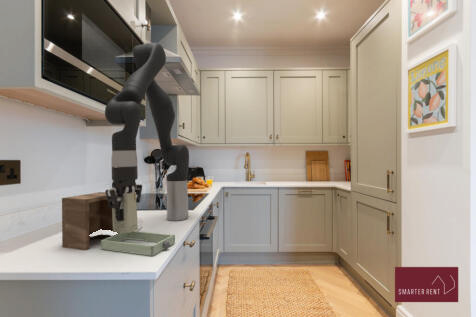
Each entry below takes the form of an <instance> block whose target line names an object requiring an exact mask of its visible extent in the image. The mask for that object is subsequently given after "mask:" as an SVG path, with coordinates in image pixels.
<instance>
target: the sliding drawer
mask: <svg viewBox="0 0 476 317" xmlns="http://www.w3.org/2000/svg"><path fill="white" fill-rule="evenodd" d="M127 239H129V240H130V239H131V240H140V241H148V242H157V243H154V244H152V245H150V244H142V243H135V242H134V243H133V242H125V241H124V240H127ZM175 243H176V235H175V234H171V233H169V234H167V233H159V232H147V231H146V232H145V231H137V230H135V231H133V232H130V233H119V234H116V235H114V236H107V237H105V238H104V239H101V240H100V249H101V250H107V251H115V252H125V253H132V254H138V255H139V254H140V255H147V256H154V255H156V254H158V253H160V252H162V251H163V250H165V249H166V248H167V249H168V248H169V247H170V246H172V245H173V244H175Z"/></svg>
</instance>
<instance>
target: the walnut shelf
mask: <svg viewBox="0 0 476 317" xmlns="http://www.w3.org/2000/svg"><path fill="white" fill-rule="evenodd" d="M61 226H62V227H61V233H62V236H61V239H62V240H61V241H62V242H61V247H62V248H69V249H74V250H82V251H87V250H89V249H90V239H93V238H95V237H90V236H89V235H90V234H92V233H93V232H96V231H98V230H100V229H102V230H111V231H113V217H112V208H110V207H109V204H108V200H107V196H106V193H105V192H101V191H99V192H93V193H87V194H79V196H78V195H73V196H66V197H62V198H61ZM117 233H118V234H119V232H117Z"/></svg>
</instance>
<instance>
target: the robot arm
mask: <svg viewBox="0 0 476 317" xmlns="http://www.w3.org/2000/svg"><path fill="white" fill-rule="evenodd" d="M132 56H133V61H134V64H135V67H136V68H137V70H136V71H134V72H133V73H132V74H130V76H129V77H128V78H127V79H126V81H125V83H124V85H123V87H122V89H121V90H120V91H119V92H118V93H117V94H116V95H114V96H113V97H112V98H111V99H110V100H109V101H108V103H107V104H106V106H105V109H104V115H105V119H106V121H107V122H108V123H110V124H111V125H116V126H117V125H124V126H123V128H122V130H119V131H116V132H113V133H112V135H111V156H110V158H111V161H110V162H111V180H112V181H113V185H112V187H111V188H110V189H106V190H105V193H106V196H107V200H108V204H109V207H110V208H114V209H115V213H116V220H117V221H123V220H124V209H123V206H124V202H125V194H127V193H132V192H136V203H137V204H138V203H140V202H141V197H142V192H143V184H137V183H136V180H138V178H139V177H138V176H139V174H138V156H137V155H138V154H137V153H138V152H137V136H138V132H139V128H140V124H141V120H142V109H141V107H140V104H142V102H143V100H144V97H145V95H146V97H147V101H148V106H149V109H150V113H151V116H152V119H153V122H154V126H155V128H156V133H157V137H158V142H159V148H160V152H161V153H160V154H161V157H162V160H163V163H164V164H165V165H167V166H175V169H174V171H172V172H170V173H167V175H166V220H167V221H173V222H174V221H177V222H178V221H183V220H185V221H186V220H187V219H188V218H189V195H188V194H189V192H188V191H189V190H188V180H189V179H188V178H189V177H188V176H189V172H190V169H189V168H190V167H189V165H190V152H189V148H188V147H187V146H186V145H185V144H184V145H183V144H173V143H172V138H171V132H172V129H173V126H174V123H175V118H176V114H175V112H176V111H175V109H174V106H173V102H172V99H171V98H170V95H168V94H167V92H165V90H163V88H162V87H161V86H160V85H159V84H158V83H157V81H156V80H155V78H156V77H157V76H158V74H159V73H160V71H161V70H162V69H163V68H164V66H165V65H166V61H167V57H166V52H165V48H164V47H163V46H162V44H160V43H158V42H149V43H143V44H138V45H135V46H134V47H133V49H132ZM117 196H118V197H122V198H121V199H118V198H117ZM119 201H120V205H119ZM113 203H114V204H113Z"/></svg>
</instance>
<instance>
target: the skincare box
mask: <svg viewBox="0 0 476 317" xmlns="http://www.w3.org/2000/svg"><path fill="white" fill-rule="evenodd" d="M117 198H118V199H121V198H122V197H118V196H117ZM136 199H137V195H136V192H132V193H127V194H125V202H124V206H123V209H124V220H123V221H117V220H116V213H115V209H114V208H112V217H113V232H119V233H130V232H133V231H137V230H138V227H139V226H138V208H137V207H138V206H137V204H138V203H136ZM113 204H114V203H113ZM119 205H120V201H119Z"/></svg>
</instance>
